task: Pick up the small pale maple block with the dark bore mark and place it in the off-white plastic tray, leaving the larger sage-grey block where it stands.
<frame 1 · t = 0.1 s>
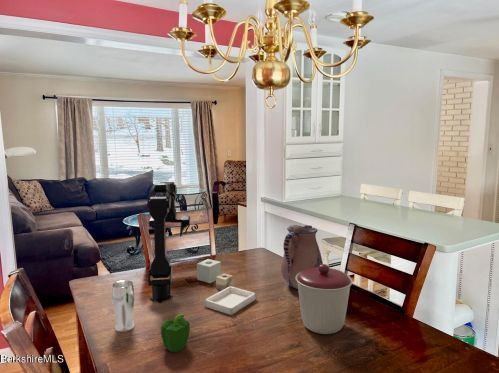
hand: (171, 236, 175), 15 cm above the table, tool pointing down, fingers open, 9 cm apart
sage block: (209, 278, 162), on the table
ceramic pitcher: (300, 287, 152), on the table
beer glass: (124, 327, 121), on the table
canister: (322, 326, 120), on the table
tray: (230, 302, 138), on the table
bell pepper: (176, 348, 108), on the table
maple block: (224, 287, 152), on the table
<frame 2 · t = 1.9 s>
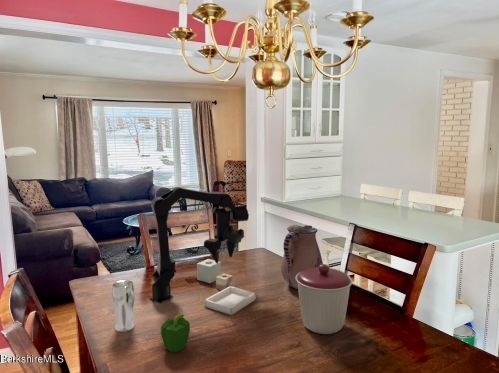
hand: (224, 259, 151), 12 cm above the table, tool pointing down, fingers open, 9 cm apart
nothing on the table moved.
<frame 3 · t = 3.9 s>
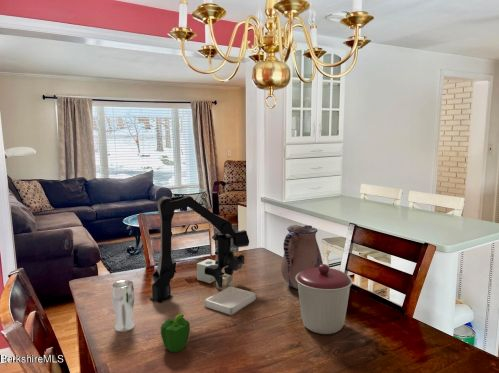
hand: (224, 285, 152), 1 cm above the table, tool pointing down, fingers closed on maple block, 5 cm apart
maple block: (224, 287, 152), on the table, touching gripper
everything else where it was.
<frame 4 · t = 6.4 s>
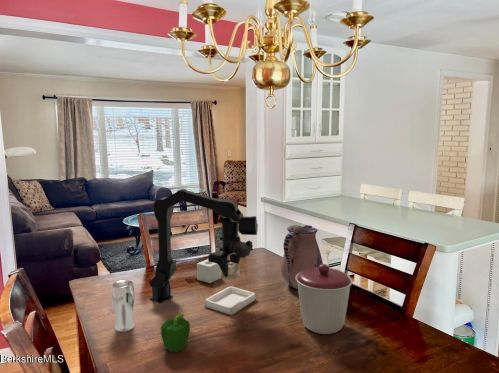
hand: (230, 274, 137), 11 cm above the table, tool pointing down, fingers closed on maple block, 5 cm apart
maple block: (230, 277, 137), point 10 cm above the table, touching gripper
everything else where it was.
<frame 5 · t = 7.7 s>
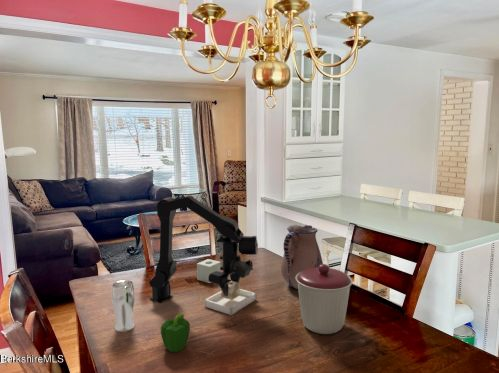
hand: (230, 293, 137), 4 cm above the table, tool pointing down, fingers closed on maple block, 5 cm apart
maple block: (230, 296, 138), point 3 cm above the table, touching gripper
everything else where it was.
when the fingers open (3 cm above the table, at t = 8.7 s): maple block drops 1 cm, resting on tray.
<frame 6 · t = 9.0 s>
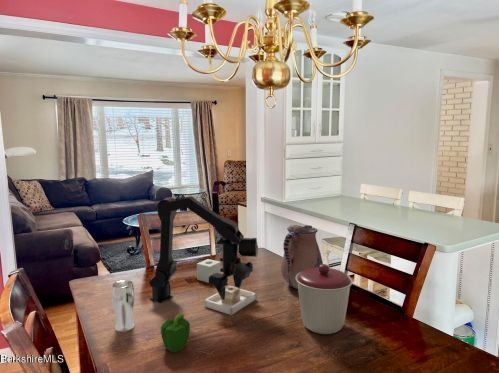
hand: (230, 295, 138), 3 cm above the table, tool pointing down, fingers open, 9 cm apart
maple block: (230, 301, 138), resting on tray
everything else where it was.
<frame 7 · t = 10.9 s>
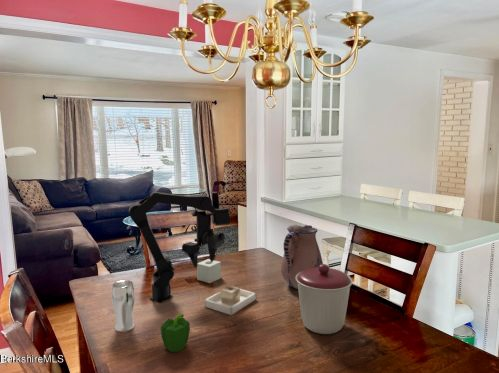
hand: (204, 264, 146), 12 cm above the table, tool pointing down, fingers open, 9 cm apart
nothing on the table moved.
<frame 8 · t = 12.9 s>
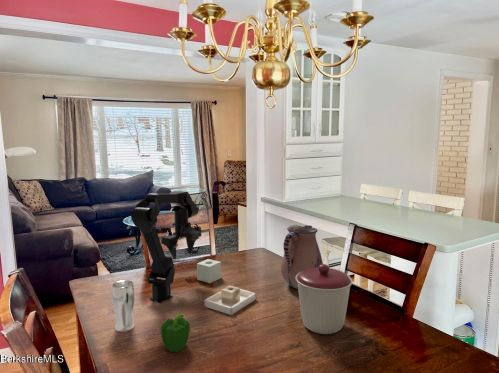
hand: (182, 256, 156), 12 cm above the table, tool pointing down, fingers open, 9 cm apart
nothing on the table moved.
at the end: maple block inside the target area on the tray (0.0 cm from its centre), point 0.5 cm above the tray's base; the gripper is holding nothing; sage block moved 0.1 cm from its start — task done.
